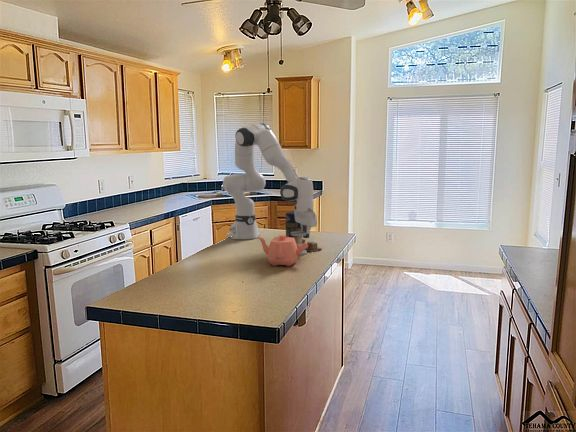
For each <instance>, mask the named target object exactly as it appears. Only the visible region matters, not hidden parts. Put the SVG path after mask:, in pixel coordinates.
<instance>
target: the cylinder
mask: <svg viewBox="0 0 576 432" xmlns="http://www.w3.org/2000/svg"><path fill="white" fill-rule="evenodd" d="M306 230H307V227H306V225H304V224H303V231H304V232H306ZM306 234H307V233H306ZM309 238H310V234H307V235H305V236H302V239H309Z"/></svg>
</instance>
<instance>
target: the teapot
mask: <svg viewBox="0 0 576 432" xmlns="http://www.w3.org/2000/svg"><path fill="white" fill-rule="evenodd" d="M256 239H258V240H259V241H260V242H261V245H262V250H263V252H264V253H265V254H266V255H267V261H268V263H269V264H270V265H272V266H273V267H277V266H280V265H281V266H286V267H292V265H293V264H295V263H296V262H297V260H298V258H299V256H300V255H299V254H300V253H301V252H302V251H304V250H305V249H306V248H307V247H308V245H307V242H306V241H305V242H304V243H303V244H302V245H301V246H300V247H299V248H298V249H297V245H296V242H295V239H294V238H293V237H286V234H280V235H279V236H276V237H274V238H272V239H271V240H270V242H269V246H268V245H267V243H266V240H265V239H264V238H263V237H260V236H258V237H257V238H256Z"/></svg>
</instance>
